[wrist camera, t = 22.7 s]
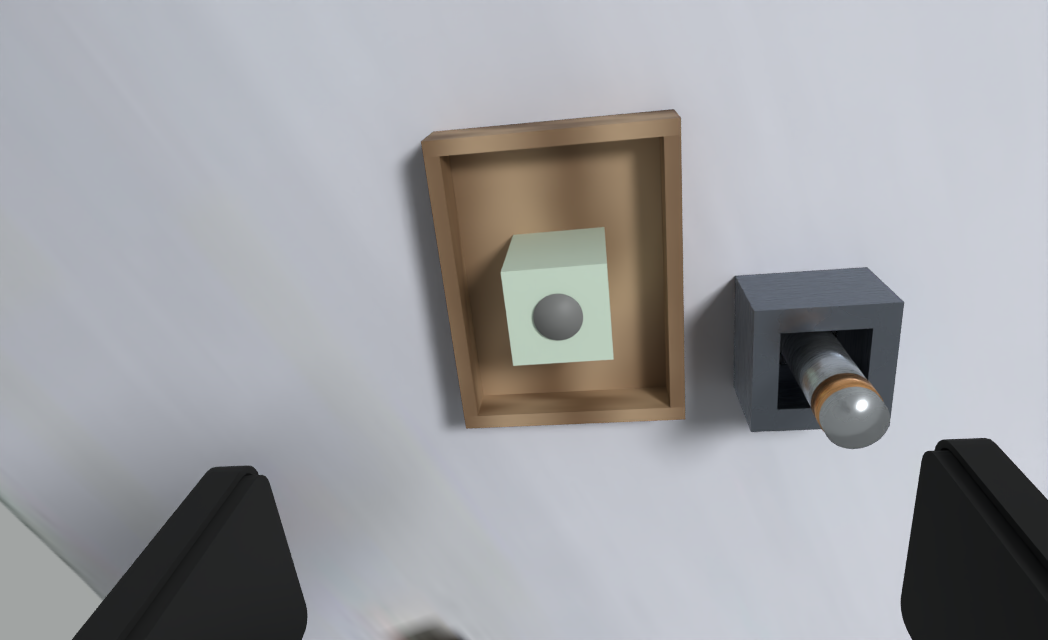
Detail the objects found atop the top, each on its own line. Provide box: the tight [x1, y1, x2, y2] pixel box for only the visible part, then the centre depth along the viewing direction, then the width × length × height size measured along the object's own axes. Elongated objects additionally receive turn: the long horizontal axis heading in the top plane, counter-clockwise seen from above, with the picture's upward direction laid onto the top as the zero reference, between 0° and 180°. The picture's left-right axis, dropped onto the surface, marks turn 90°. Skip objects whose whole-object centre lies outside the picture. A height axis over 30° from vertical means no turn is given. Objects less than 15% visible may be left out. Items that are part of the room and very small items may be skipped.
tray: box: [421, 109, 685, 428], centre depth 39 cm, size 13×17×3 cm
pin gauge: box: [780, 331, 890, 449], centre depth 36 cm, size 3×3×10 cm
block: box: [734, 267, 904, 432], centre depth 38 cm, size 7×7×5 cm
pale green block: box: [501, 227, 614, 366], centre depth 37 cm, size 5×5×6 cm
